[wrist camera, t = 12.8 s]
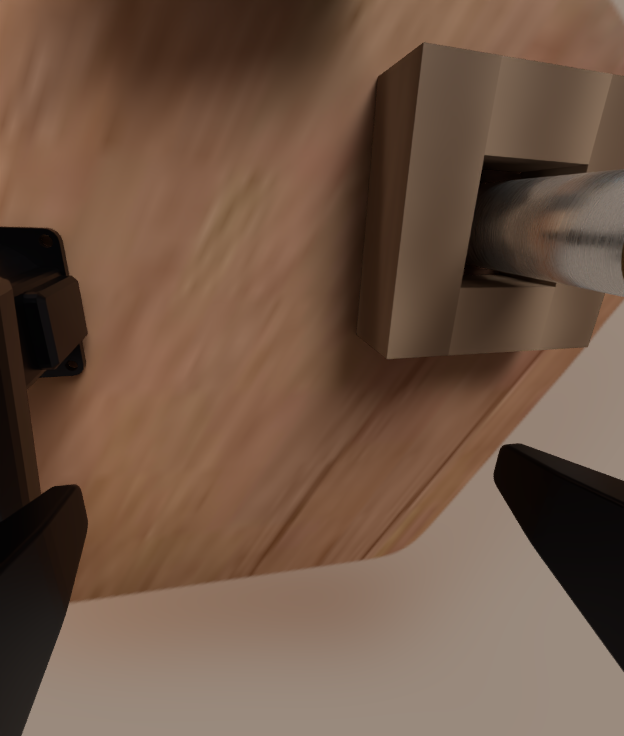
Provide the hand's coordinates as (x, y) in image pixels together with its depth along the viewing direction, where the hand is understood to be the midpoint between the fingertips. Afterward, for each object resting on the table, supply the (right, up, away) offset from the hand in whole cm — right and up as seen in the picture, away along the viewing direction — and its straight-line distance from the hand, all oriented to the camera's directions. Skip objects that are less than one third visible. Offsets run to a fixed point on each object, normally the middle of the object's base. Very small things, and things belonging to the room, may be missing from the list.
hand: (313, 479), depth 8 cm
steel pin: (+8, +10, +13) cm, 18 cm away
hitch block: (+9, +10, +13) cm, 18 cm away
